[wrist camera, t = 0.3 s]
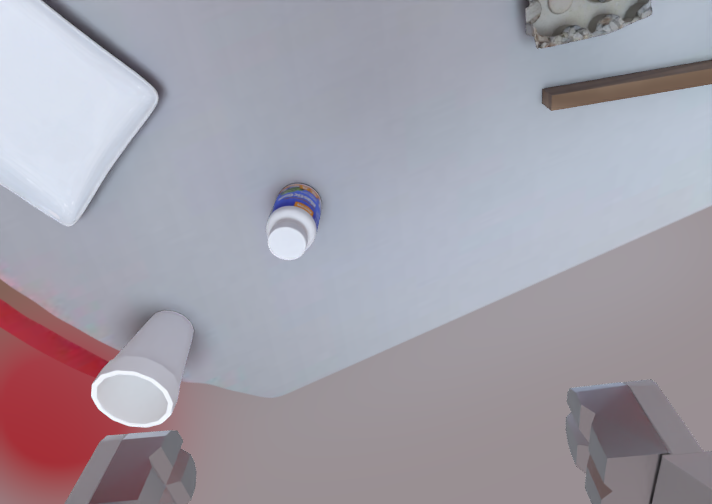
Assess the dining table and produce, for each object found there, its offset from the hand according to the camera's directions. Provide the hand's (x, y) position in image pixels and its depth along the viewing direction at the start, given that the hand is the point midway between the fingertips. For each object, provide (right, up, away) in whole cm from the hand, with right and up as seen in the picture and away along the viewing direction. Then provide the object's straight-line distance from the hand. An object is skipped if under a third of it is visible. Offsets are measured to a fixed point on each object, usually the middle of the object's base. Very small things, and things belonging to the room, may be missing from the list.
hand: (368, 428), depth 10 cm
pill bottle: (-7, +10, +48) cm, 49 cm away
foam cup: (-26, -7, +58) cm, 64 cm away
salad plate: (-35, +21, +42) cm, 58 cm away
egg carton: (+22, +27, +37) cm, 51 cm away
